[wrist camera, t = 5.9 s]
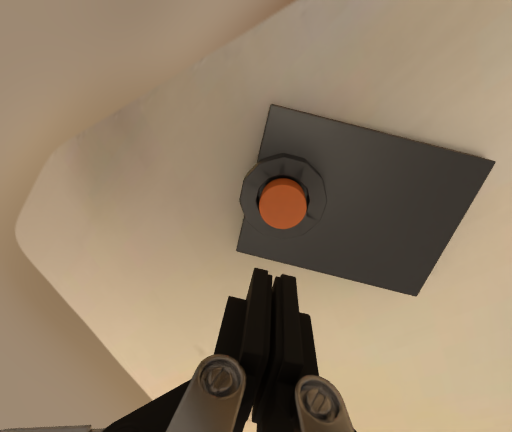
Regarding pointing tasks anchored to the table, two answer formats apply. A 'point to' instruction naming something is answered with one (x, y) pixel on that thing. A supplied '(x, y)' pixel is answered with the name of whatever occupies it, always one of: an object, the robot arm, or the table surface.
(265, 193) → the button
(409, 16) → the table surface
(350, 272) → the scale
